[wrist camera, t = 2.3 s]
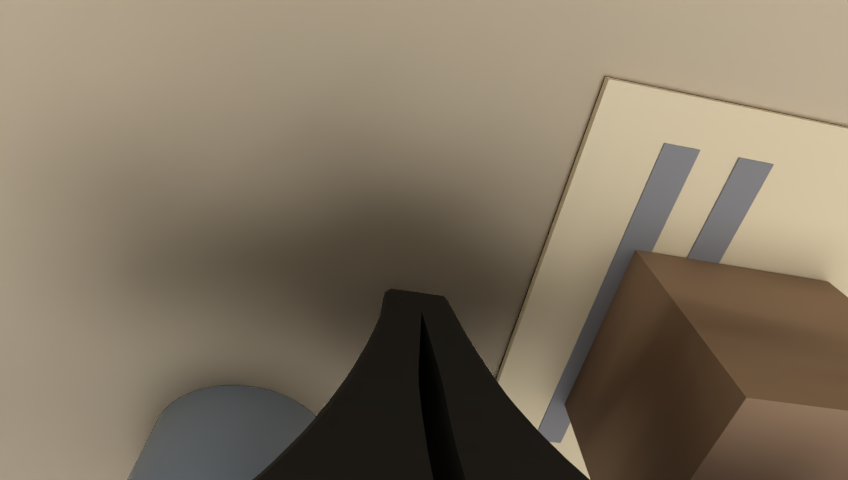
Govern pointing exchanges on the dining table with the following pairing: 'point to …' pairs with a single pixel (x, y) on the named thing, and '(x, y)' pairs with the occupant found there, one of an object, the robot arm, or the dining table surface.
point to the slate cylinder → (220, 434)
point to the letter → (671, 222)
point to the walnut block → (715, 376)
